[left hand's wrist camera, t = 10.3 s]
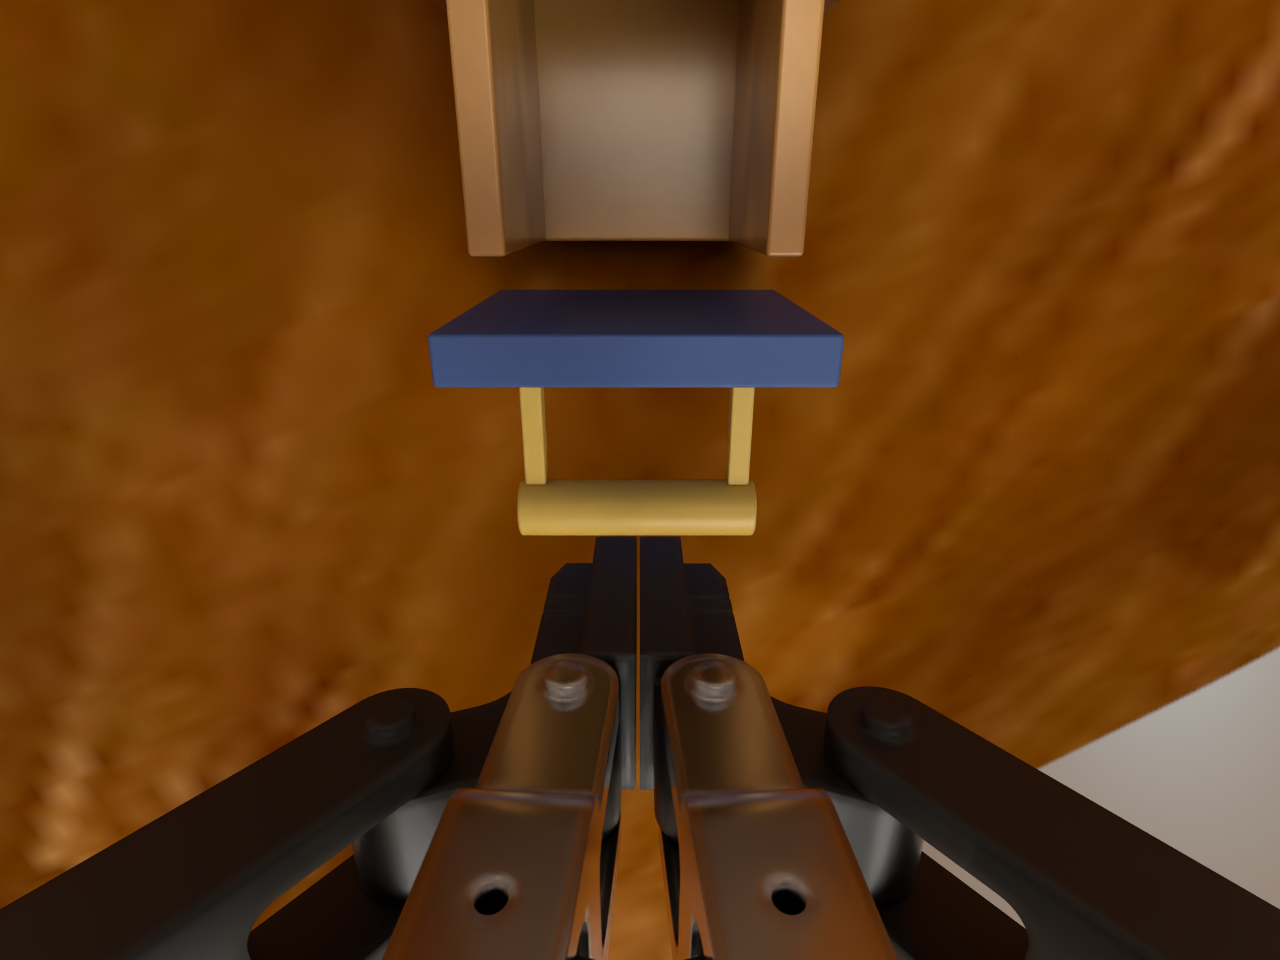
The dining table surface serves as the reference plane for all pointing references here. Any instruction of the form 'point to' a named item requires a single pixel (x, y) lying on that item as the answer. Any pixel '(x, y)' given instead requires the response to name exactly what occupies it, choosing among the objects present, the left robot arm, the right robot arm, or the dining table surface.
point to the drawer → (635, 223)
